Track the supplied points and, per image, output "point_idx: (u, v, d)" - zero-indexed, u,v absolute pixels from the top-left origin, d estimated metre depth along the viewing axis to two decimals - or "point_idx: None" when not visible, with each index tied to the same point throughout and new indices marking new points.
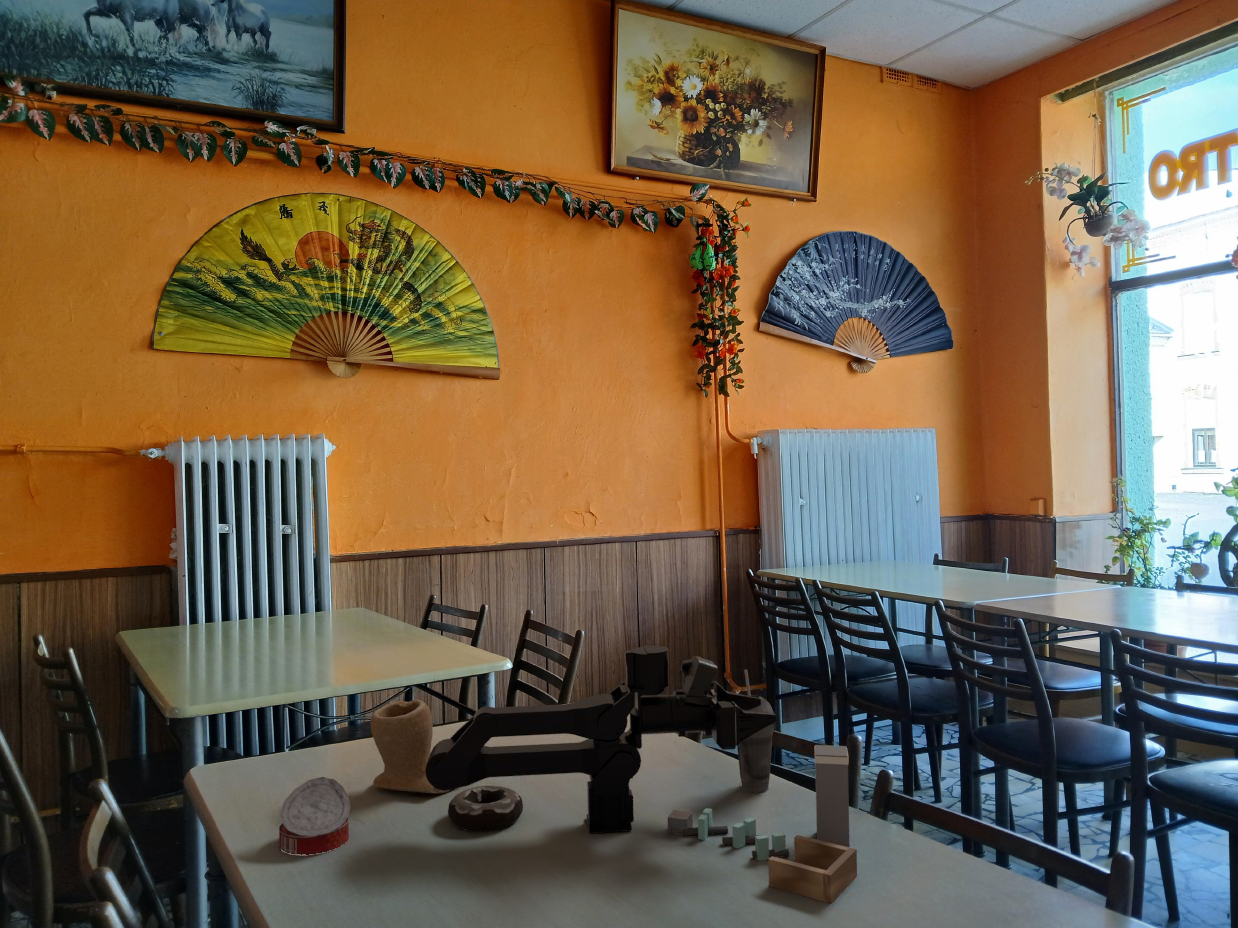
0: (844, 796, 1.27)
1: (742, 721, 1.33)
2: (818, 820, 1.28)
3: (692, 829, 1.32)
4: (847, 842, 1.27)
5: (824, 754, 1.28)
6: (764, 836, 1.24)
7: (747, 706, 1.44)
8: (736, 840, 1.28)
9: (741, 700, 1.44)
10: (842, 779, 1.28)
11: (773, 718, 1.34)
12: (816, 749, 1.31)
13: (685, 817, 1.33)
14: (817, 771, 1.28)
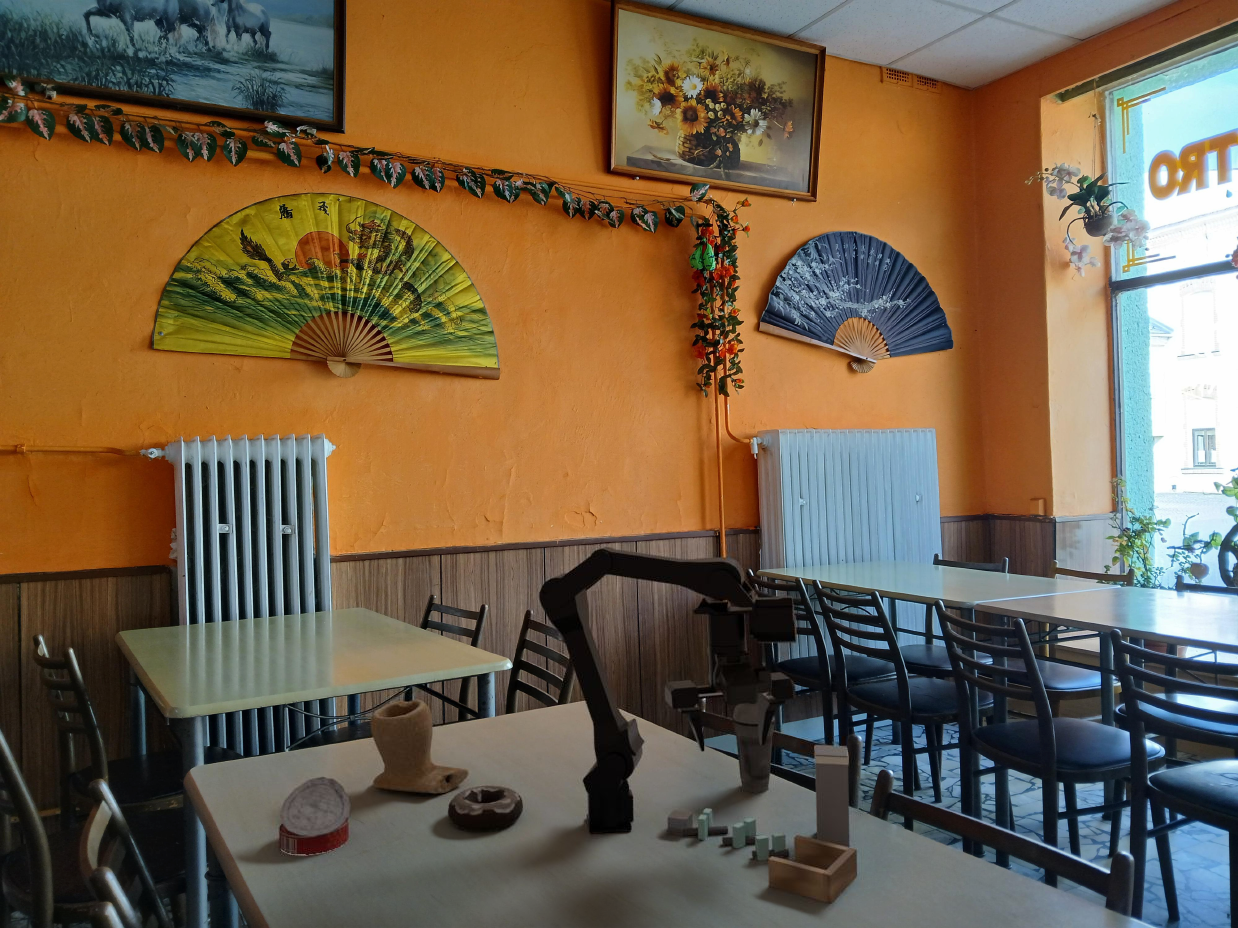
0: (844, 796, 1.27)
1: None
2: (818, 820, 1.28)
3: (692, 829, 1.32)
4: (847, 842, 1.27)
5: (824, 754, 1.28)
6: (764, 836, 1.24)
7: (759, 728, 1.34)
8: (736, 840, 1.28)
9: (763, 724, 1.33)
10: (842, 779, 1.28)
11: (700, 747, 1.32)
12: (816, 749, 1.31)
13: (685, 817, 1.33)
14: (817, 771, 1.28)
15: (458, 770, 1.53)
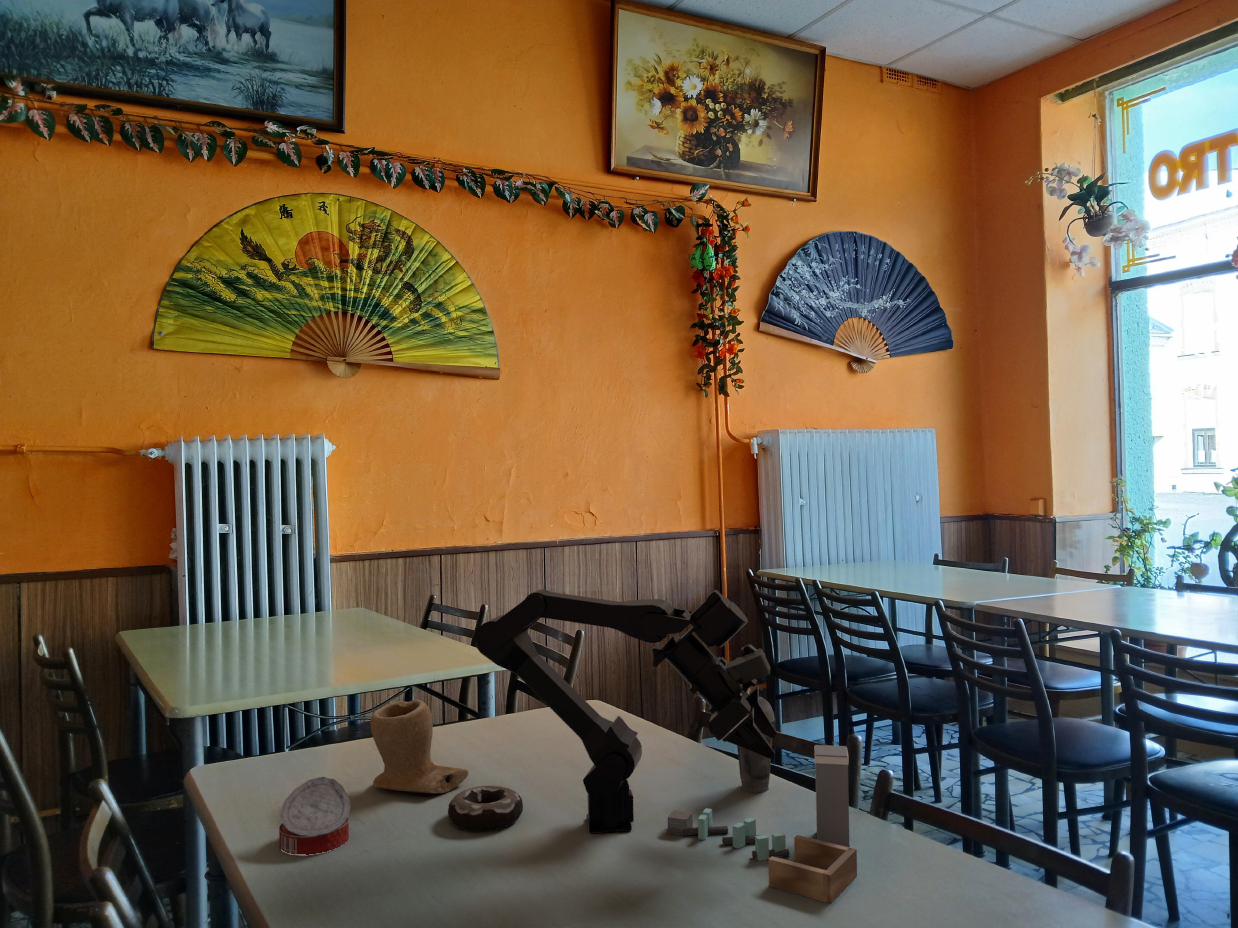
0: (844, 796, 1.27)
1: (745, 729, 1.27)
2: (818, 820, 1.28)
3: (692, 829, 1.32)
4: (847, 842, 1.27)
5: (824, 754, 1.28)
6: (764, 836, 1.24)
7: (761, 728, 1.36)
8: (736, 840, 1.28)
9: (762, 718, 1.37)
10: (842, 779, 1.28)
11: (770, 754, 1.27)
12: (816, 749, 1.31)
13: (685, 817, 1.33)
14: (817, 771, 1.28)
15: (458, 770, 1.53)
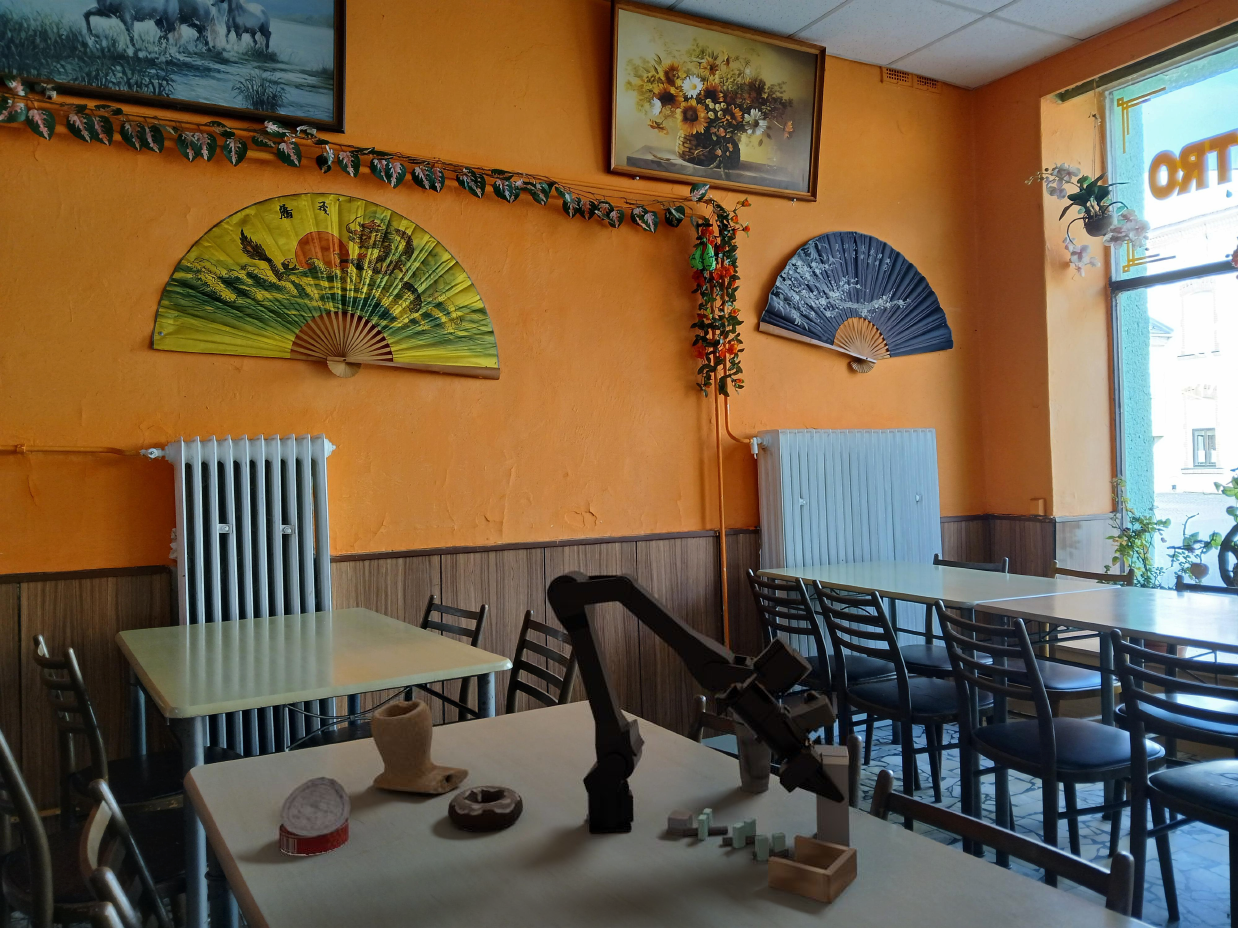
0: (844, 795, 1.27)
1: (814, 775, 1.27)
2: (818, 820, 1.28)
3: (692, 829, 1.32)
4: (847, 842, 1.27)
5: (824, 753, 1.28)
6: (764, 836, 1.24)
7: None
8: (736, 840, 1.28)
9: None
10: (842, 778, 1.28)
11: (840, 798, 1.27)
12: (816, 749, 1.31)
13: (685, 817, 1.33)
14: None
15: (458, 770, 1.53)
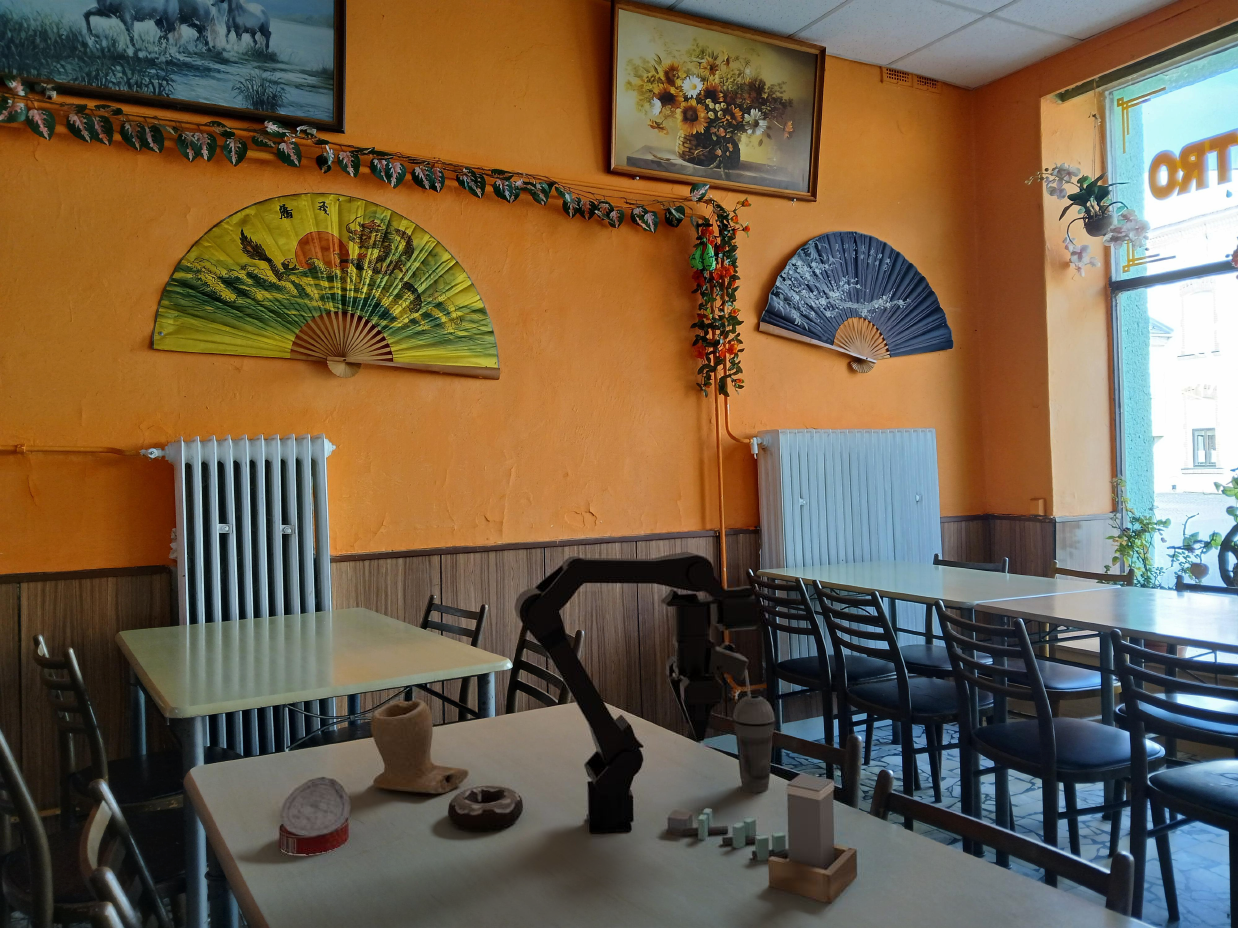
0: (816, 834, 1.15)
1: (701, 706, 1.35)
2: (790, 856, 1.17)
3: (692, 829, 1.32)
4: None
5: (797, 784, 1.16)
6: (764, 836, 1.24)
7: (685, 710, 1.45)
8: (736, 840, 1.28)
9: None
10: (813, 815, 1.15)
11: (700, 737, 1.35)
12: (795, 778, 1.19)
13: (685, 817, 1.33)
14: (789, 802, 1.17)
15: (458, 770, 1.53)
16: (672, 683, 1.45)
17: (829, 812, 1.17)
